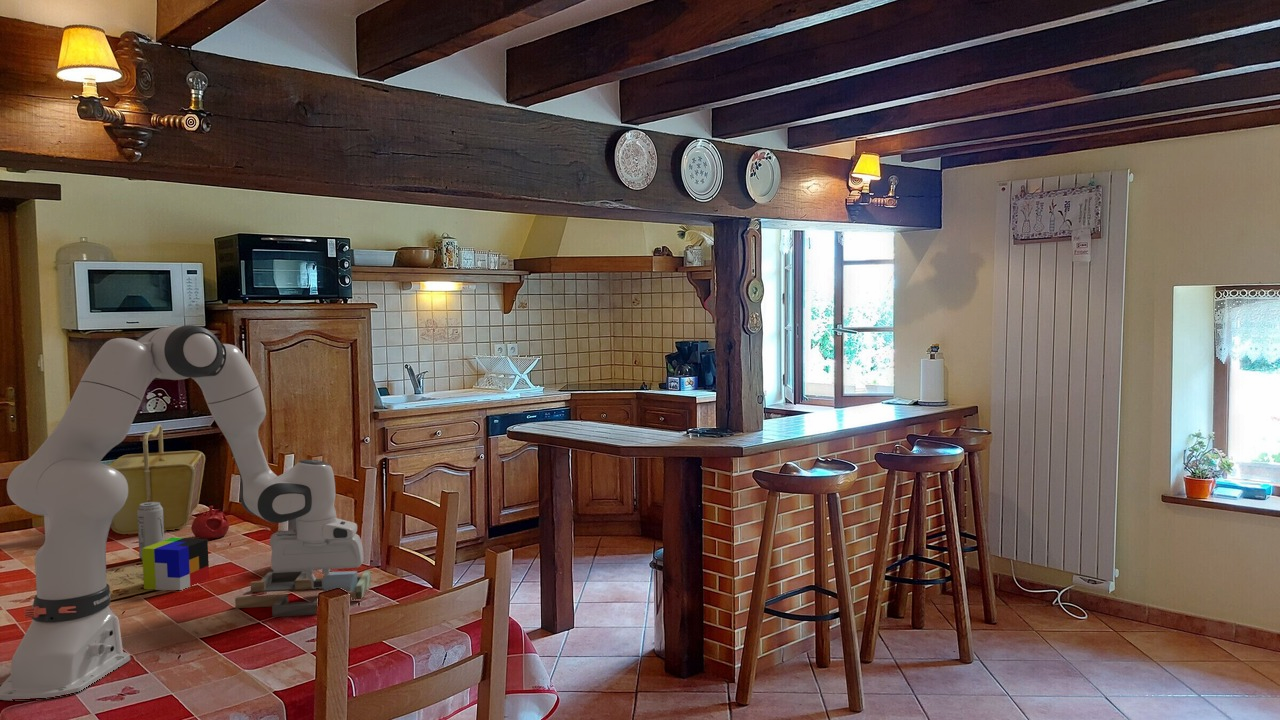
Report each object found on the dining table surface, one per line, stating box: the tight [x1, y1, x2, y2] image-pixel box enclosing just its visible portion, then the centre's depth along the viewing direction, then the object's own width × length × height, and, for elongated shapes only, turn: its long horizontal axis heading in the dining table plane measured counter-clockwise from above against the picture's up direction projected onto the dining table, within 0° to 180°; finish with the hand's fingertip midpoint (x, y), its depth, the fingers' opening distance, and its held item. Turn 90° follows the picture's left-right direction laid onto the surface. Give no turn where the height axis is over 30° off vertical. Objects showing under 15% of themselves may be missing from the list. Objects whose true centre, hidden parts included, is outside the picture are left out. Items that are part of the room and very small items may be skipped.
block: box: [323, 570, 358, 592], centre depth 203 cm, size 6×6×4 cm
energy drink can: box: [137, 502, 165, 562], centre depth 234 cm, size 6×6×15 cm
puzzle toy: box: [141, 536, 210, 591], centre depth 212 cm, size 10×10×10 cm
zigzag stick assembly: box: [234, 569, 372, 618], centre depth 202 cm, size 27×27×4 cm
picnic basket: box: [108, 424, 206, 535], centre depth 273 cm, size 29×26×30 cm
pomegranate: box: [191, 505, 230, 540], centre depth 256 cm, size 10×10×9 cm
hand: (318, 587), depth 203 cm, fingers closed
